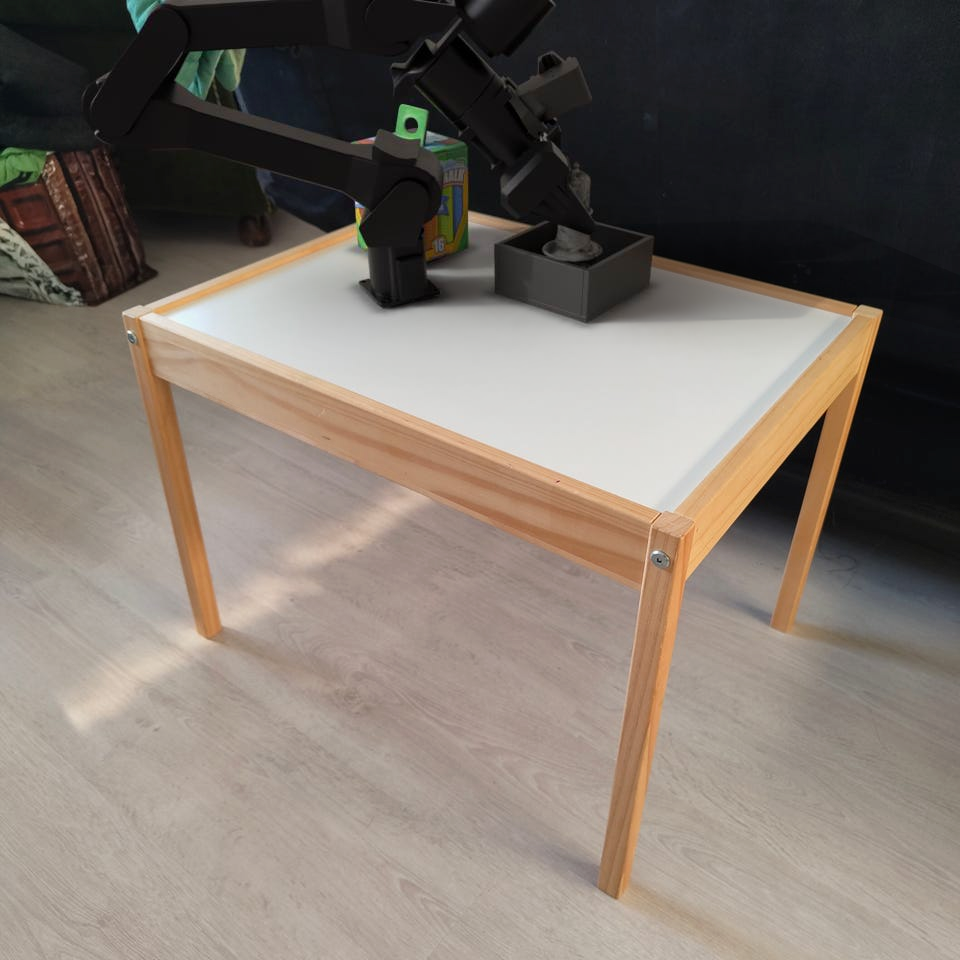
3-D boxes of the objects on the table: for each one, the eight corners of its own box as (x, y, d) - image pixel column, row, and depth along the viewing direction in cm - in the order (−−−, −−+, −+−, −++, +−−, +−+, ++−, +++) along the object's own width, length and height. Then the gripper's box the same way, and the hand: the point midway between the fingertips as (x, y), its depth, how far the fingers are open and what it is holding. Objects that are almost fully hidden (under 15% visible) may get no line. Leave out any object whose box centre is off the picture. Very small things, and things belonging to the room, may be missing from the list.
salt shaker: (612, 282, 90) (621, 160, 83) (573, 300, 86) (580, 175, 79) (567, 267, 93) (572, 148, 86) (529, 283, 90) (531, 162, 83)
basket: (494, 293, 90) (493, 243, 87) (560, 259, 97) (561, 212, 94) (586, 323, 84) (589, 271, 81) (649, 285, 91) (654, 236, 88)
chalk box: (356, 248, 100) (342, 109, 92) (419, 228, 105) (412, 94, 97) (408, 271, 95) (398, 125, 86) (472, 248, 100) (469, 108, 91)
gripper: (544, 46, 69) (672, 188, 75) (533, 9, 84) (641, 129, 90) (445, 153, 73) (574, 278, 80) (452, 99, 89) (559, 208, 95)
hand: (590, 217), depth 86 cm, fingers open, 7 cm apart
